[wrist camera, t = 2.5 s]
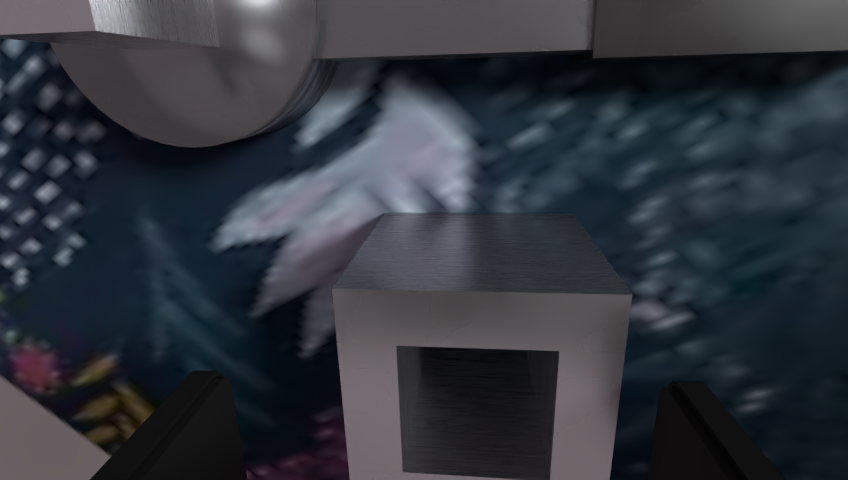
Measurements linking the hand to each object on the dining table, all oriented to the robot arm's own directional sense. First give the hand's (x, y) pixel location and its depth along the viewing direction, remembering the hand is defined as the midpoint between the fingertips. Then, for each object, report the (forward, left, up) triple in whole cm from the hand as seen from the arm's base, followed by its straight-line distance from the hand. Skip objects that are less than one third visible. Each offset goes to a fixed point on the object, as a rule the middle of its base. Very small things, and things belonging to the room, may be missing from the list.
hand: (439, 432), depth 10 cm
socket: (-1, 0, -6) cm, 6 cm away
